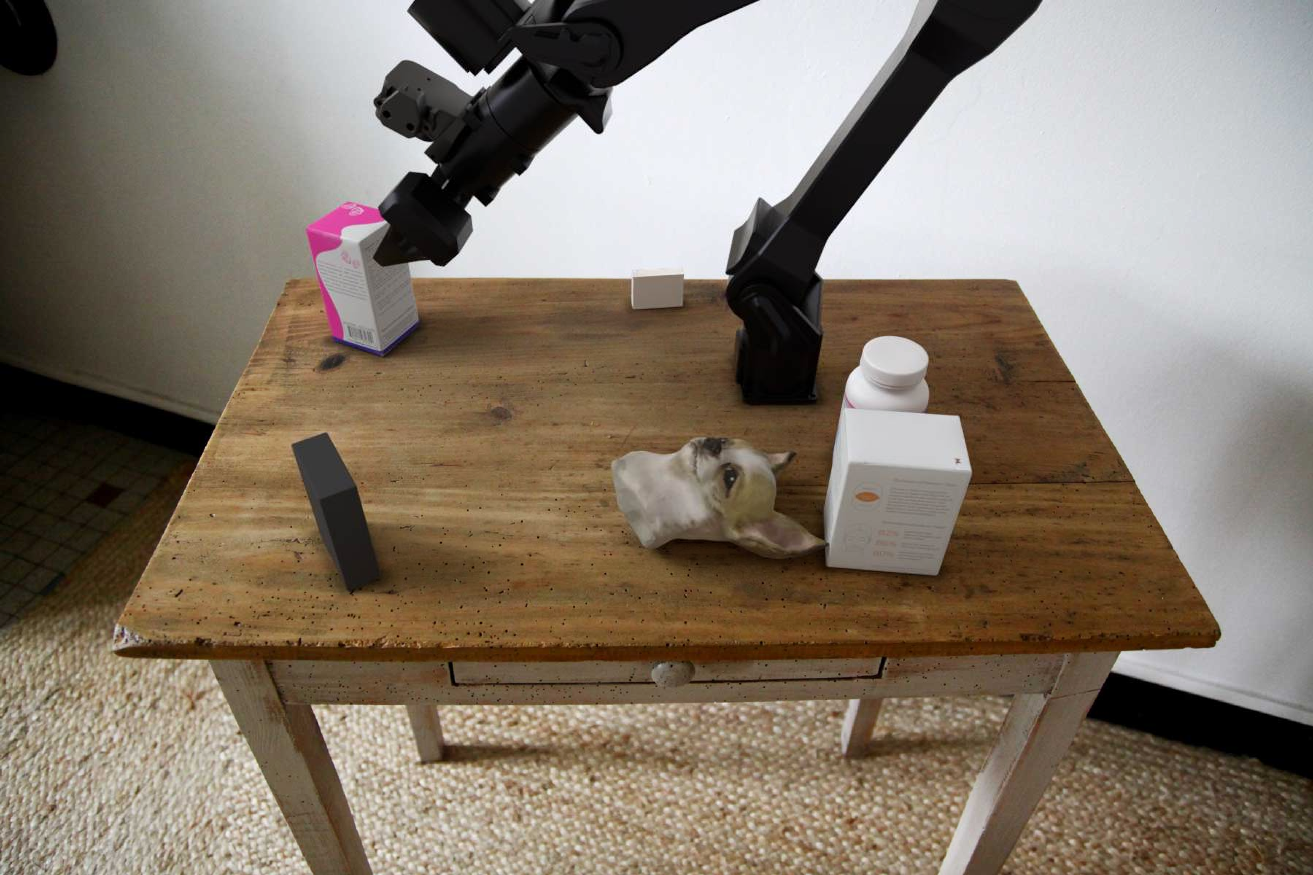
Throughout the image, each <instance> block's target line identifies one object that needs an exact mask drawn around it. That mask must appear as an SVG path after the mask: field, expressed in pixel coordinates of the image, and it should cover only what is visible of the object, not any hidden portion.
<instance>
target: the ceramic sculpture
mask: <svg viewBox="0 0 1313 875" xmlns="http://www.w3.org/2000/svg"><path fill="white" fill-rule="evenodd" d="M797 456H798V451H795V450H791V451H787V450H786V451H782V452H769V451H767V450H765V449H761V448H758V447H757V446H756V445H755V444H753V443H751V442H749V441H747V440H745V439H742V438H731V439H730V438H728V437H718V438H716V437H705V436H704V437H703V436H701V437H693V438H692V439H690V441H689V442H688V443H685V444H684V445H682V447H681V449H679V451H676V452H674V453H666V454H661V453H654V452H651V451H647V450H637V451H636V450H635V451H634V450H633V451H630V452H628V453H626V454H624V455H623V456H622V457H620V458H616V459H613V460H612V462H611V464H610V467H611V474H612V482H613V486H614V489H615V496H616V504H617V507H618V509H619V511H620V512H621V513H622V514H623V516H624V517H625V518H626V520H627V521H628V524H629V525H630V527H631V529H632V530H633V532H634V534H635V535H636V536H637V538H638V540H639V542H640V543H641V545H642V546H643V547H644V548H646V549H647V550H655V549H657V548H659V547H661V546H663V545H665V544H667V543H668V542H670V541H673V540H676V539H680V540H681V539H682V540H705V541H713V542H730V543H732V544H734V545H736V546H738V547H740V548H743V549H745V550H747V551H748V552H750V553H753V554H756V555H759V556H760V557H764V558H767V559H777V560H783V559H788V558H789V559H790V558H798V557H802V556H805V555H808V554H811V553H814V552H817V551H819V550H822V549H825V547H827V546H828V545H829V543H828V542H826V541H825V539H821V538H820V537H817V536H815V535H813V534H812V533H810V532H809V531H808V530H807V528H805V527H803V526H802V525H801V524H800V522H799V521H797V520H796V519H794V518H792V517H791V516H787V515H785V514H783V513H781V512H779V511H778V512H777V511H776V510H775V509H774V507H775V501H776V497H777V480H778V479H779V478H780V477H781V475H782V474H783V473H784V471H785V470H786V469H787V468H788V466H789V465H791V463H792V462H793V461H794V460H795V459H796V458H797Z"/></svg>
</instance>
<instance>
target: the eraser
mask: <svg viewBox="0 0 1313 875" xmlns="http://www.w3.org/2000/svg"><path fill="white" fill-rule="evenodd" d="M684 282H685V272H684V268H683V267H682V266H681V267H680V266H679V267H663V268H647V269H644V268H643V269H631V307H632V310H645V309H661V308H676V307H677V308H678V307H683V303H684V284H685V283H684Z"/></svg>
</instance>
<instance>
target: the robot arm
mask: <svg viewBox="0 0 1313 875" xmlns="http://www.w3.org/2000/svg"><path fill="white" fill-rule="evenodd" d="M759 1H761V0H533V1H532V2H530V0H413V1H412V3H411V4H410V5H409V7H408V8H407V10H406V12H407V13H408V14H409V15H410V16H411V17H412V18H413V19H414V21H415V22H416V23H417V24H418V25H419V26H420V27H421V28H422V29H424V31H425V32H426V33H427V34H428V35H429V36H430V37H431V38H432V39H433V41H435V42H436V43H437V44H438V45H439V46H440V47H441V48H442V49H443V50H444V51H445V53H447V54H448V55H449V56H450V57H451V59H453V61H454V62H456V63H457V65H459V67H460V68H461V69H462V70H463V71H464V72H465V73H466V74H469V73H471V74H472V76H473V77H477V76H478V75H479V74H480V72H481V71H484V72H485V73H486V75H488V76H489V75H491V74H492V73H493V72H494V70H496V68H498V66H500V65H501V64H502V63H503V61H504V60H505V59H506V58H507V57H509V55H510V54H511V53H512V52H513V51H514V50H515V49H516V50H517V51H518V52H519V53H520V54H521V55H520V56H519V57H518V58H517V59H516V60H515V61H514V62H513V63H512V64H511V66H509V67H508V69H507V70H505V71H504V72H503V73H502V75H500V77H499V78H498V79H497V80H495V82H494V83H493V84H492V85H489V86H488V87H485V86H482V87H481V88H480V89H479V90H478V91H477V92H476V93H475V94H474V95H470V94H469V93H467V92H466V91H465V90H463V89H461V88H460V87H459V86H458V85H457V84H456V83H454V82H453V81H451V80H449V79H447V78H445V77H444V76H441V75H440V74H438V73H436V72H434V71H433V70H431V69H429V68H427V67H425V66H424V65H422V64H420V63H418V62H416V61H413V60H410V59H403V60H401V61H399V62H398V63H397V64H396V65H395V67H393V68H392V69H391V70H390V71H389V72H388V73H387V74H386V75H385V77H384V80H383V84H382V87H381V91H380V92H379V93H378V94H377V95H376V96H375V97H374V99H373V105H374V108H375V110H374V111H375V112H374V114H375V117H376V118H377V119H378V120H379V122H380V123H381V125H382V126H383V127H385V128H386V129H388V130H390V131H392V132H394V133H396V134H398V135H400V136H402V137H404V138H406V139H407V140H410V139H414V138H416V139H418V140H420V141H422V142H425V143H430V144H429V146H428V147H427V148H426V149H425V150H424V152H423V154H424V155H425V156H427V157H428V159H429V160H430V161H432V162H433V163H434V164H435V165H436V167H435V168H434V169H433V171H432V173H431V174H430V175H429V174H428V173H427V172H421V171H420V172H419V171H411V170H410V171H408V172H407V173H406V174H405V175H404V176H403V177H402V178H401V179H400V180H399V182H398V183H396V184H395V186H393V188H392V189H390V191H389V193H388V194H387V195H386V196H385V197H384V199H383V200H382V201H381V202H380V203H379V205H378V206H377V209H379V212H380V215H381V217H382V218H383V219H384V220H385V221H387V222H388V223H389V224H390V226H389V228H388V230H387V232H386V234H385V236H384V237H383V239H382V241H381V243H380V245H379V247H378V248H377V250H376V252H375V254H374V256H373V259H374V261H376V262H377V263H378V264H379V265H380V266H382V267H387V266H392V265H398V264H404V263H408V264H409V263H415V262H422V261H423V262H424V261H425V262H426V261H430V262H431V263H432V264H433V265H434V266H436V267H441V268H445V267H446V266H447V265H448V264H449V263H451V262H452V260H454V259H455V258H456V257H457V256H458V255H459V254H460V253H461V252H462V250H463V249H464V246H465V245H466V243H467V242H468V240H469V239H470V237H471V235H472V234H473V232H474V227H473V218H472V215H471V214H470V213H469V211H467V210H466V208H467V207H468V205H469V204H470V202H471V201H472V199H473V198H475V199H476V200H477V201H478V202H480V204H481V205H483V206H484V207H485V208H487V207H488V206H489V205H491V203H492V202H493V201H495V199H496V198H497V195H498V194H499V193H500V191H501V189H502V188H503V187H504V186H505V185H506V184H507V183H508V182H509V181H510V180H511V179H512V178H513V177H515V176H516V175H517V176H518V177H520V176H521V175H523V174H524V173H525V172H526V171H528V169H529V168H530V166H531V164H532V163H533V161H534V160H535V157H536V156H537V155H538V154H539V153H541V151H542V150H544V149H545V148H546V147H547V146H548V145H549V144H550V143H551V142H552V141H553V140H555V138H556V137H557V136H559V135H560V134H561V133H562V132H563V131H564V130H565V129H566V128H567V127H568V126H570V125H571V124H572V123H573V122H574V121H575V120H576V119H577V118H578V117H579V118H580V119H581V120H582V121H583V122H584V123H585V125H586V126H588V127H589V128H590V130H591V131H592V132H593V133H594V134H596V135H602V134H603V133H604V132H605V129H606V127H607V125H608V124H609V121H610V119H611V117H612V116H613V114H614V113H613V105H612V104H613V103H612V94H613V92H614V87H617V86H618V85H621V84H622V83H624V82H626V81H627V80H628V79H631V77H633V76H635V75H636V74H637V73H639V72H640V71H642V70H643V69H645V68H646V67H648V66H649V65H651V64H652V63H654V62H655V61H657V60H658V59H659V58H660V57H661V56H662V55H664V54H666V53H667V51H669V50H670V49H671V48H672V47H673V46H675V45H676V44H677V43H678V42H680V41H681V40H683V38H684V37H686V36H688V35H689V34H690V33H693V31H695V30H697V29H698V28H700V27H702V26H705V25H707V24H709V23H711V22H714V21H716V20H718V19H720V18H723V17H726V16H727V15H729V14H732V13H734V12H736V11H738V10H741V9H743V8H746V7H749V6H750V5H753V4H754V3H757V2H759ZM1043 1H1044V0H918V1H917V4H916V6H915V9H914V11H913V13H912V16H911V19H910V21H909V23H908V26H907V28H906V31H905V32H904V35H903V36H902V38H901V40H900V41H899V42H898V44H897V45H896V46H895V48H894V49H893V51H892V52H891V54H890V55H889V57H888V58H887V59H886V60H885V62H884V64H883V65H882V66H881V67H880V69H879V70H878V72H877V73H876V74H875V75H874V77H873V79H872V80H871V82H870V83H869V85H868V86H867V87H866V89H865V90H864V91H863V93H862V94H861V96H860V97H859V98H858V100H857V101H856V103H855V104H854V106H853V107H852V109H851V110H850V111H849V112H848V114H847V115H846V117H845V118H844V119H843V121H842V122H841V124H840V125H839V127H837V129H836V131H835V132H834V133H833V135H832V137H831V138H830V139H829V141H827V143H826V145H825V146H824V147H823V148H822V151H820V153H819V155H818V156H817V157H816V159H815V160H814V162H813V163H812V164H811V166H810V167H809V169H808V170H807V171H806V172H805V174H804V175H803V176H802V178H801V180H800V181H799V182H798V184H797V185H796V187H794V190H793V191H792V192H791V193H790V194H789V195H788V196H787V197H785V198H784V199H782V200H781V201H779V202H777V203H776V204H774V205H773V206H772V205H771V204H770V203H769V202H768V201H766V200H765V199H764V198H763V197H760V196H759V197H758V198H757V199H756V202H755V204H754V205H753V208H752V210H751V213H750V214H749V216H748V219H747V220H745V222H744V223H743V224H742V225H740V226H739V227H737V228H735V229H734V230H733V235H732V239H731V244H730V249H729V253H728V258H727V262H726V267H725V271H724V273H725V275H726V276H728V278H727V283H726V288H725V294H724V295H725V299H726V303H727V306H728V307H729V308H730V310H731V311H732V313H733V314H734V315H735V316H736V317H737V318H739V319H740V320H741V321H742V323H743V325H742V328H737V330H736V331H735V338H734V339H735V341H734V349H733V357H732V358H733V360H732V370H733V377H734V383H735V384H736V385H737V386H739V390H740V396H741V401H742V402H743V403H745V404H815V403H817V402H818V401H819V393H818V389H817V386H816V378H817V372H818V367H819V361H820V355H821V350H822V344H823V339H824V338H823V337H824V329H823V326H822V312H823V298H824V297H823V295H824V294H823V293H824V279H823V277H822V276H821V275H820V273H818V272H817V270H816V269H817V267H818V264H819V262H820V259H821V257H822V254H823V252H824V250H825V247H826V244H827V242H828V240H829V239H830V237H831V236H832V235H833V233H834V232H835V230H836V229H837V227H839V225H840V224H841V222H842V221H843V220H844V219H845V217H846V216H847V215H848V214H849V212H851V210H852V208H854V206H855V205H856V203H857V202H858V201H859V199H861V197H862V196H863V195H864V193H865V192H866V191H867V189H868V188H869V187H870V185H871V184H872V183H873V182H874V180H875V179H876V177H877V176H878V175H879V174H880V173H881V171H882V170H883V168H884V167H885V166H886V165H887V163H888V162H889V161H890V160H891V158H892V157H893V156H894V154H895V153H896V152H897V151H898V149H899V148H900V147H901V145H902V144H903V143H904V141H905V140H906V139H907V138H908V136H909V135H910V134H911V133H912V131H913V130H914V129H915V128H916V126H917V125H918V123H919V122H920V121H921V120H922V118H923V117H924V116H925V115H926V113H927V112H928V111H929V110H930V108H931V107H932V106H933V105H934V103H935V102H936V100H937V99H938V98H939V97H940V96H941V94H942V93H943V91H944V90H945V89H946V87H947V86H948V85H949V84H950V83H951V82H952V81H953V80H954V79H955V78H957V77H958V76H960V75H961V74H962V73H964V72H966V71H968V69H970V68H971V67H974V66H975V65H976V64H978V63H979V62H981V61H983V60H984V59H986V58H988V56H990V55H992V54H993V53H994V52H995V51H996V50H997V49H998V48H999V47H1000V46H1002V44H1003V43H1004V42H1006V41H1007V40H1008V39H1009V38H1010V37H1011V36H1012V35H1013V34H1014V33H1015V32H1016V31H1017V30H1019V28H1021V27H1022V26H1023V25H1024V24H1025V23H1026V22H1027V21H1028V20H1029V19H1031V17H1032V16H1033V15H1034V14H1035V13H1036V12H1037V11H1038V9H1039V7H1040V6H1041V4H1042V2H1043Z"/></svg>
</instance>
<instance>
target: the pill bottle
mask: <svg viewBox="0 0 1313 875" xmlns="http://www.w3.org/2000/svg"><path fill="white" fill-rule="evenodd" d="M928 365H929V354H928V353H927V351H926V349H925V348H924V347H922V346H921V345H920V344H919V343H917V342H915V341H913V340H911V339H909V338H905V337H902V336H897V335H884V336H878V337H875V338H872V339H870V340H869V341H868V342H867V343H865V345H864V347H863V349H862V354H861V357H860V360H859V365H858V366H857V367H856V368H854V369H853V370H852V371H851V373H850V374H849V376H848V377H847V379H846V380H847V381H846V384H845V387H844V388H845V389H844V393H843V398H842V404H841V410H840V413H839V414H840V415H839V420H838V425H837V429H836V430H837V431H836V436H835V441H834V446H833V451H832V452H833V453H832V460H833V459H834V455H835V450H836V445H837V440H838V435H839V430H840V425H841V420H842V415H843V411H844V409H845V408H854V409H868V410H881V411H895V412H909V413H923V414H926V412H927V407H928V405H929V398H930V389H929V386H928V383H927V381H926V379H925V377H926V376H927V369H928Z"/></svg>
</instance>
